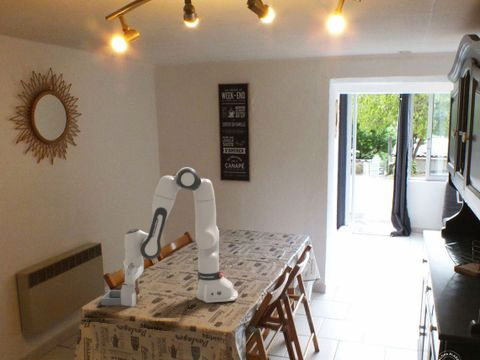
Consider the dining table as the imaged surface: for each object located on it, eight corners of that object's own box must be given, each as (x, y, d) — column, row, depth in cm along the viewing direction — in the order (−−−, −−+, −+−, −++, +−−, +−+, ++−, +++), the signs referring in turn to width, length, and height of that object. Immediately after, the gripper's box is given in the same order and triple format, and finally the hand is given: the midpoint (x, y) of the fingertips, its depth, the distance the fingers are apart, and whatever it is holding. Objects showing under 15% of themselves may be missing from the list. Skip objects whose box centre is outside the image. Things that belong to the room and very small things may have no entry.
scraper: (140, 295, 225) (138, 277, 223) (139, 300, 218) (137, 282, 217) (135, 296, 224) (133, 278, 223) (133, 301, 217) (131, 282, 216)
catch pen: (127, 296, 227) (127, 290, 227) (120, 305, 216) (120, 298, 215) (109, 296, 228) (109, 290, 227) (101, 305, 216) (101, 298, 216)
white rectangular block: (132, 306, 214) (131, 287, 213) (121, 305, 216) (120, 286, 215) (136, 303, 217) (135, 285, 216) (125, 302, 219) (124, 283, 218)
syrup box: (132, 281, 250) (131, 258, 249) (138, 283, 247) (137, 259, 245) (124, 284, 246) (123, 260, 245) (130, 286, 242) (129, 262, 241)
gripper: (134, 266, 208) (135, 293, 210) (145, 255, 229) (146, 279, 230) (121, 266, 209) (122, 293, 210) (134, 255, 229) (135, 279, 230)
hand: (135, 286), depth 220 cm, fingers closed on scraper, 3 cm apart
